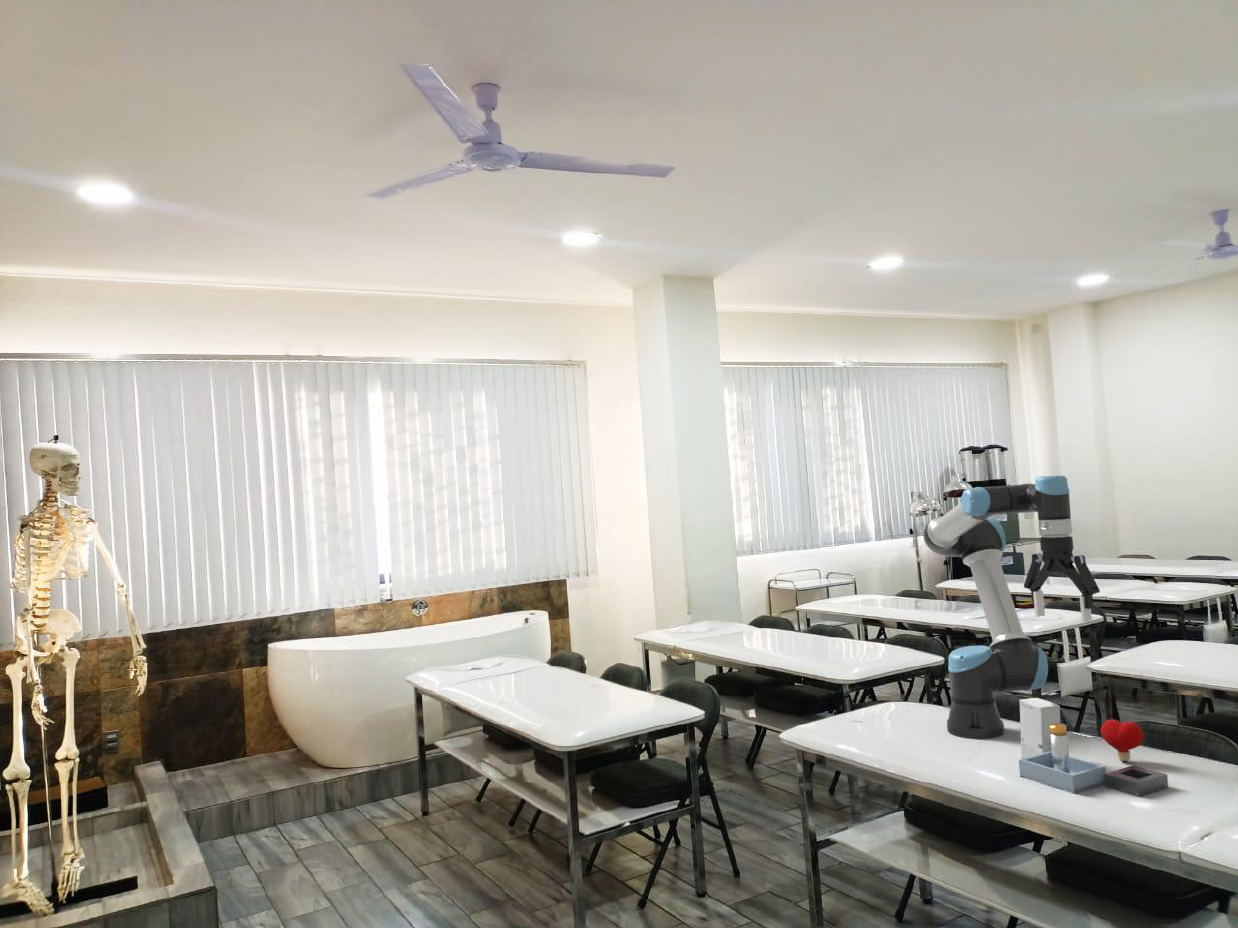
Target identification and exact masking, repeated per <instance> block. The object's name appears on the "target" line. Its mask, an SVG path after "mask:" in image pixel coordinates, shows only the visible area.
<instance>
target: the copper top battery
mask: <svg viewBox="0 0 1238 928" xmlns="http://www.w3.org/2000/svg"><path fill="white" fill-rule="evenodd" d="M1049 726H1050V738H1051V750H1052V762H1053V769H1056V770H1060V771H1063V772H1066V773H1070V763H1069V756H1070V752H1069V743H1068V730H1067V724H1064V723H1061V722H1060V723H1052V724H1050V725H1049Z"/></svg>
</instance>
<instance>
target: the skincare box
mask: <svg viewBox="0 0 1238 928" xmlns="http://www.w3.org/2000/svg"><path fill="white" fill-rule="evenodd" d="M1060 707H1061V706H1060V705H1058V704H1056V703H1053V702H1051V701H1049V700H1046V699H1042V698H1039V697H1031V698H1024V699H1023V698H1022V699H1019V717H1020V718H1019V719H1020V720H1019V722H1020V724H1019V725H1020V752H1021V754H1020V755H1021V758H1022V759H1023V758H1026V757H1030V756H1034V755H1038V754H1041V753H1045V752H1049V751H1052V750H1051V738H1050V726H1049V725H1050V724H1052V723H1060V724H1061V708H1060Z"/></svg>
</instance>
